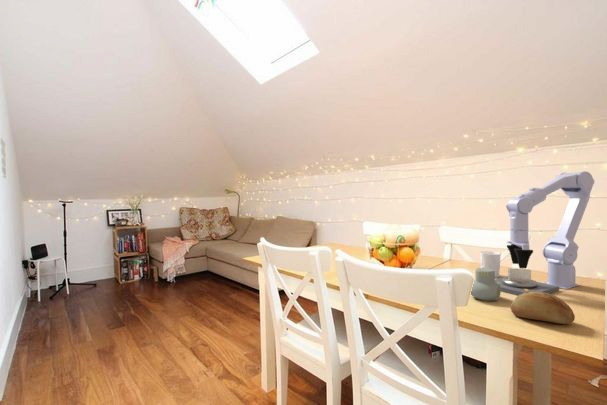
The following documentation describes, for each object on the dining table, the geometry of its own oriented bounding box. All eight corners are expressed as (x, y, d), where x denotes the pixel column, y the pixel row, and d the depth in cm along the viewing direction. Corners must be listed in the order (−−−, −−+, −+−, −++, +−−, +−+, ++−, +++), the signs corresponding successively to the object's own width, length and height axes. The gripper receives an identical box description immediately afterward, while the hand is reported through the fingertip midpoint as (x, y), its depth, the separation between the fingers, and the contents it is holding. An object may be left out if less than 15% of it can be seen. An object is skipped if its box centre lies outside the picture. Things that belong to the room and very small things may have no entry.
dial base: (509, 279, 137) (509, 275, 137) (559, 290, 122) (559, 285, 122) (482, 286, 129) (481, 282, 129) (532, 299, 113) (532, 294, 113)
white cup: (481, 272, 150) (481, 250, 150) (501, 274, 145) (501, 252, 145) (478, 276, 144) (478, 253, 143) (499, 278, 139) (499, 255, 139)
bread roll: (575, 332, 87) (575, 302, 87) (508, 320, 96) (508, 292, 96) (573, 320, 95) (573, 292, 94) (512, 310, 104) (512, 284, 103)
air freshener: (495, 305, 108) (495, 274, 108) (467, 300, 114) (467, 271, 114) (501, 296, 117) (501, 268, 116) (476, 292, 122) (475, 265, 122)
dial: (530, 280, 129) (530, 266, 129) (542, 289, 118) (542, 273, 118) (498, 279, 132) (498, 265, 132) (507, 287, 122) (507, 272, 121)
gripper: (501, 227, 133) (501, 261, 133) (513, 232, 119) (513, 269, 119) (521, 227, 131) (521, 262, 131) (536, 232, 117) (536, 270, 117)
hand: (519, 265), depth 125 cm, fingers open, 7 cm apart
